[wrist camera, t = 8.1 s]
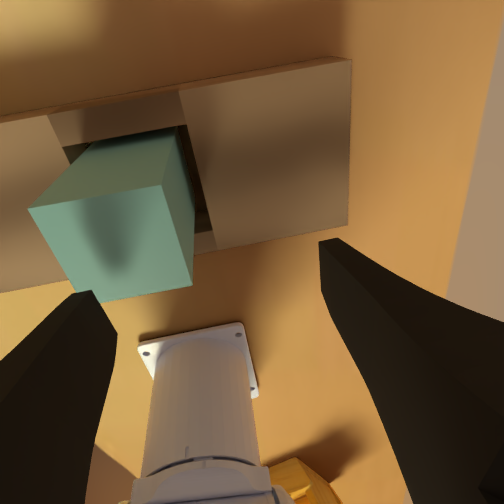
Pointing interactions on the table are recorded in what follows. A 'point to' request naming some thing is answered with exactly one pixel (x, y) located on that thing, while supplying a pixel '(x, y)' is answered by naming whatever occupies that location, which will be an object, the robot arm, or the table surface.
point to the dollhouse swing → (302, 483)
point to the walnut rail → (196, 157)
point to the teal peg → (123, 216)
